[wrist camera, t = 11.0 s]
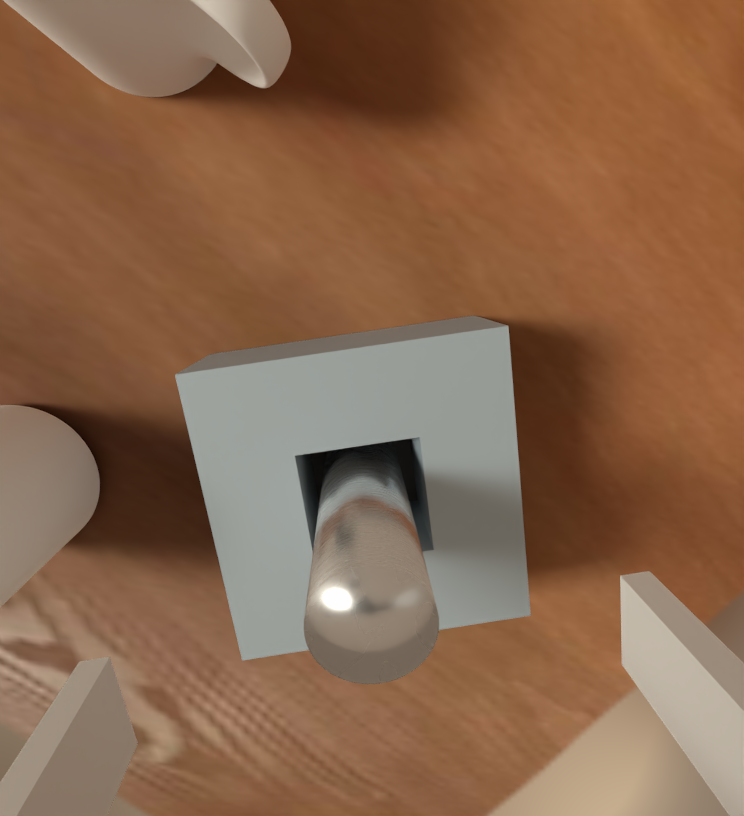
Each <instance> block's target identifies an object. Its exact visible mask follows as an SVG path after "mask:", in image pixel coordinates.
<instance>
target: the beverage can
mask: <svg viewBox="0 0 744 816" xmlns="http://www.w3.org/2000/svg"><path fill="white" fill-rule="evenodd" d="M99 493H100V478H99V472H98V468H97V465H96V462H95V459H94V457H93V455H92V453H91V451H90V449H89V448H88V446H87V445H86V443H85V442H84V441H83V439H82V438H81V437H80V436H79V435H78V434H77V433H76V432H75V431H74V430H73V429H72V428H71V427H70V426H68V425H67V424H66V423H64V422H63V421H61V420H60V419H58V418H57V417H55V416H53V415H51V414H49V413H47V412H44V411H41V410H38V409H35V408H31V407H27V406H20V405H0V607H1V606H2V605H3V604H4V603H5V602H6V601H7V600H8V599H9V598H10V597H12V596H13V595H14V594H15V593H16V592H17V591H18V590H19V589H20V588H21V587H22V586H23V585H24V584H25V583H26V582H27V581H28V580H29V579H30V578H31V577H32V576H33V575H34V574H35V573H37V572H38V571H39V570H40V569H41V568H42V567H43V566H44V565H45V564H46V563H47V562H48V561H49V560H50V559H51V558H52V557H53V556H54V555H55V554H56V553H57V552H58V551H59V550H60V549H62V548H63V547H64V546H65V545H66V544H67V543H68V542H69V541H70V540H71V539H72V538H73V537H74V536H75V535H76V534H77V533H78V532H79V531H80V530H81V529H82V528H83V527H84V526H85V525H86V524H87V523H88V521H89V520H90V518H91V517H92V515H93V513H94V511H95V509H96V506H97V503H98V499H99Z"/></svg>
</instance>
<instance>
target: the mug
mask: <svg viewBox="0 0 744 816" xmlns="http://www.w3.org/2000/svg"><path fill="white" fill-rule="evenodd" d="M3 1H4V2H6V3H7V4H8V5H9V6H11V7H12V8H13V9H14V10H15V11H17V12H18V13H19V14H20V15H22V16H23V17H24V18H25V19H27V20H28V21H29V22H30V23H31V24H33V25H34V26H35V27H36V28H38V29H39V30H40V31H41V32H43V33H44V34H45V35H46V36H48V37H49V38H50V39H51V40H52V41H54V42H55V43H56V44H57V45H59V46H60V47H61V48H62V49H64V50H65V51H66V52H67V53H69V54H70V55H71V56H72V57H73V58H75V59H76V60H77V61H78V62H80V63H81V64H82V65H83V66H85V67H86V68H87V69H88V70H89V71H91V72H92V73H93V74H94V75H96V76H97V77H98V78H100V79H101V80H102V81H104V82H105V83H107V84H109V85H111V86H112V87H114V88H116V89H119V90H121V91H124V92H126V93H130V94H133V95H138V96H144V97H163V96H170V95H174V94H177V93H180V92H183V91H185V90H187V89H189V88H191V87H193V86H194V85H196V84H197V83H199V82H200V81H201V80H203V79H204V78H205V77H206V76H207V75H208V74H209V73H210V72H211V71H212V70H213V68H214V67H215V66H216V65H217V63H218V64H220V65H221V66H222V67H224V68H225V69H227V70H228V71H230V72H231V73H233V74H234V75H236V76H237V77H239V78H241V79H242V80H244V81H246V82H248V83H250V84H252V85H254V86H256V87H259V88H268V87H270V86H272V85H273V84H274V83H275V82H276V81H277V80H278V79H279V77H280V76H281V74H282V72H283V71H284V69H285V67H286V65H287V63H288V60H289V57H290V53H291V41H290V37H289V34H288V31H287V28H286V26H285V24H284V22H283V20H282V18H281V17H280V15H279V13H278V12H277V10H276V9H275V7H274V6H273V4H272V3H271V1H270V0H3Z"/></svg>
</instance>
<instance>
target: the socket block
mask: <svg viewBox="0 0 744 816" xmlns="http://www.w3.org/2000/svg"><path fill="white" fill-rule="evenodd" d="M175 377H176V381H177V385H178V389H179V394H180V398H181V402H182V406H183V411H184V415H185V419H186V423H187V428H188V432H189V436H190V441H191V445H192V449H193V453H194V458H195V462H196V466H197V470H198V475H199V479H200V483H201V487H202V492H203V496H204V500H205V504H206V509H207V513H208V517H209V521H210V526H211V530H212V534H213V538H214V543H215V547H216V551H217V555H218V560H219V564H220V568H221V572H222V577H223V581H224V585H225V589H226V594H227V598H228V602H229V606H230V611H231V615H232V619H233V623H234V628H235V632H236V636H237V640H238V645H239V649H240V653H241V657H242V660H248V659H254V658H261V657H267V656H273V655H280V654H286V653H293V652H299V651H306V650H309V649H308V646H307V644H306V640H305V637H304V616H305V609H306V601H307V593H308V586H309V578H310V571H311V563H312V555H313V548H314V540H315V533H316V525H317V517H318V510H319V502H320V495H321V487H322V479H323V472H324V464H325V457H326V453H327V451H330V450H337V449H344V448H350V447H357V446H364V445H370V444H377V443H384V442H390V441H391V443H392V444H393V446H394V448H395V450H396V453H397V456H398V460H399V464H400V468H401V472H402V476H403V479H404V483H405V487H406V491H407V495H408V499H409V503H410V506H411V510H412V514H413V518H414V522H415V526H416V529H417V533H418V537H419V541H420V545H421V549H422V552H423V556H424V560H425V564H426V568H427V572H428V575H429V579H430V583H431V587H432V591H433V595H434V598H435V602H436V606H437V610H438V615H439V630H441V629H447V628H454V627H460V626H467V625H473V624H479V623H486V622H492V621H499V620H505V619H512V618H518V617H525V616H531V614H530V601H529V588H528V575H527V562H526V549H525V536H524V522H523V509H522V496H521V483H520V470H519V457H518V444H517V431H516V418H515V405H514V392H513V379H512V365H511V352H510V339H509V326H508V325H504V324H501V323H498V322H494V321H491V320H488V319H484V318H481V317H477V316H468V317H461V318H454V319H448V320H441V321H434V322H427V323H420V324H413V325H407V326H400V327H393V328H386V329H379V330H372V331H366V332H359V333H352V334H345V335H338V336H331V337H325V338H318V339H311V340H304V341H297V342H290V343H284V344H277V345H270V346H263V347H256V348H249V349H243V350H236V351H229V352H222V353H215V354H210V355H208V356H206V357H205V358H203V359H201V360H200V361H198V362H196V363H194V364H193V365H191V366H189V367H187V368H186V369H184V370H182V371H181V372H179V373H177V374H175Z"/></svg>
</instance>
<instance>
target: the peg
mask: <svg viewBox="0 0 744 816" xmlns="http://www.w3.org/2000/svg"><path fill="white" fill-rule="evenodd" d="M438 632H439V615H438V610H437V606H436V602H435V598H434V595H433V591H432V587H431V583H430V579H429V575H428V572H427V568H426V564H425V560H424V556H423V552H422V549H421V545H420V541H419V537H418V533H417V529H416V526H415V522H414V518H413V514H412V510H411V506H410V503H409V499H408V495H407V491H406V487H405V483H404V479H403V476H402V472H401V468H400V464H399V460H398V456H397V453H396V450H395V448H394V446H393V444H392V443H391V441H390V442H384V443H377V444H370V445H364V446H357V447H350V448H344V449H337V450H330V451H327V453H326V457H325V464H324V472H323V479H322V487H321V495H320V502H319V510H318V517H317V525H316V533H315V540H314V548H313V555H312V563H311V571H310V578H309V586H308V593H307V601H306V609H305V616H304V637H305V640H306V644H307V646H308V649H309V651H310V653H311V654H312V656H313V657H314V659H315V660H316V661H317V662H318V663H319V664H320V665H321V666H322V667H323V668H324V669H325V670H327V671H328V672H330V673H331V674H333V675H335V676H337V677H339V678H341V679H344V680H346V681H350V682H354V683H361V684H378V683H384V682H389V681H392V680H396V679H398V678H400V677H403V676H405V675H407V674H408V673H410V672H412V671H413V670H414V669H416V668H417V667H418V666H419V665H420V664H421V663H422V662H423V661H424V660H425V659H426V658H427V657H428V655H429V654H430V652H431V651H432V649H433V647H434V645H435V642H436V640H437V636H438Z"/></svg>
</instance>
